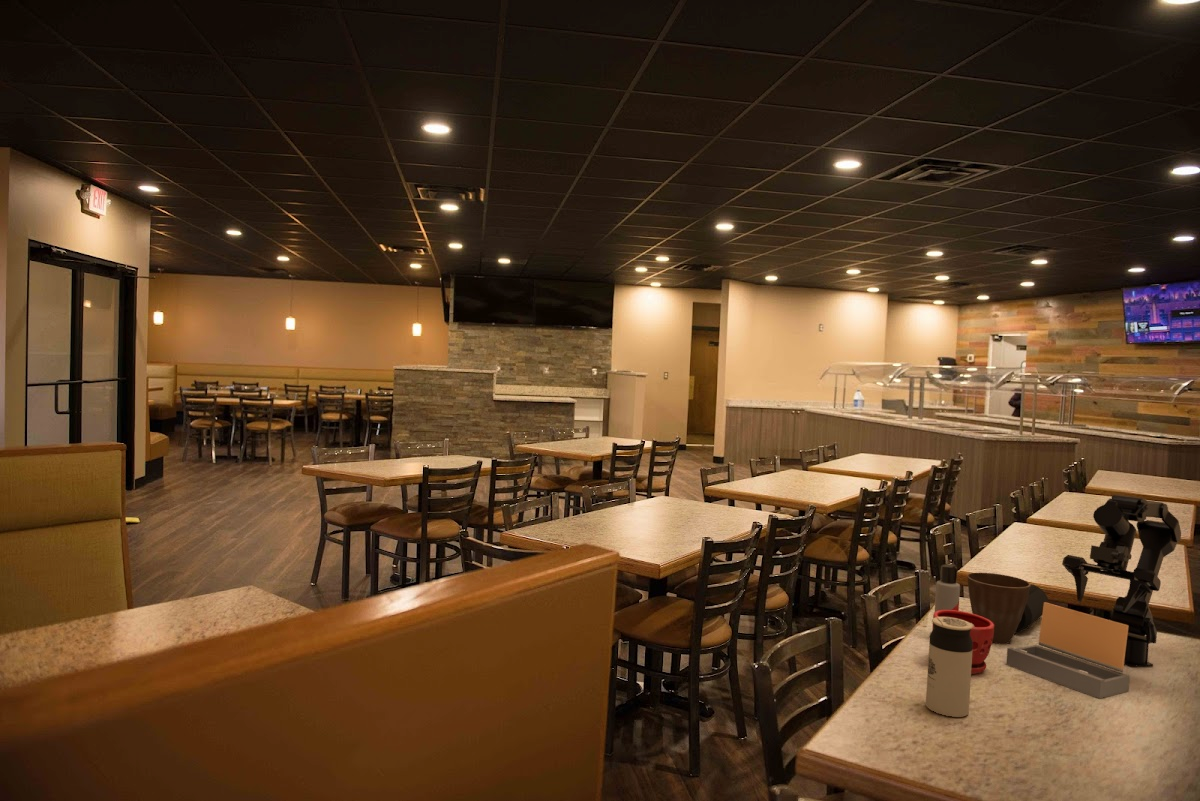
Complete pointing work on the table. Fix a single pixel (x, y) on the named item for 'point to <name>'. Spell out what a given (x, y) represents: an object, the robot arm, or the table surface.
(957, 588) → the lotion bottle
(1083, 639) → the cover
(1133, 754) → the table surface
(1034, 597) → the portable speaker
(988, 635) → the plant pot
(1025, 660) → the grey rectangular tray
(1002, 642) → the plant pot
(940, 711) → the travel mug
